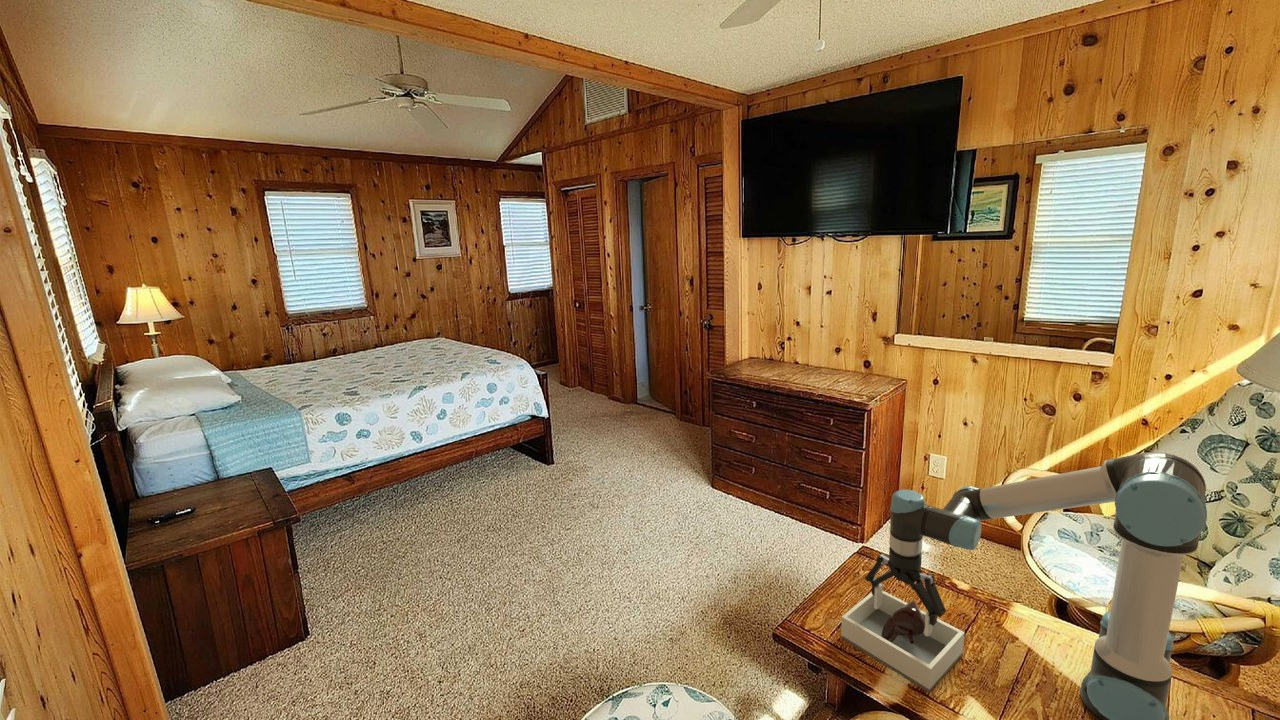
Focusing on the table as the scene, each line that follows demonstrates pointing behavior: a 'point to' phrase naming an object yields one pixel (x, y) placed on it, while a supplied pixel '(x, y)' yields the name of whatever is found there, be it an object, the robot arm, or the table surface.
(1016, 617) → the table surface
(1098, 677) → the robot arm
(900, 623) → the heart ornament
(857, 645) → the open box
